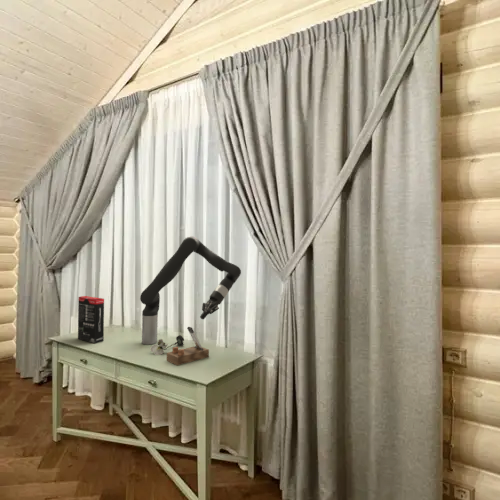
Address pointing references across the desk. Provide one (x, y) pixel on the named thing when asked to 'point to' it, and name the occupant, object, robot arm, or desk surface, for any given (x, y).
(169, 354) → the lever base
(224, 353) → the desk surface
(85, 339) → the graphics card box
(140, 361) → the desk surface
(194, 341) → the lever
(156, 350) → the artificial flower
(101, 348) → the desk surface
